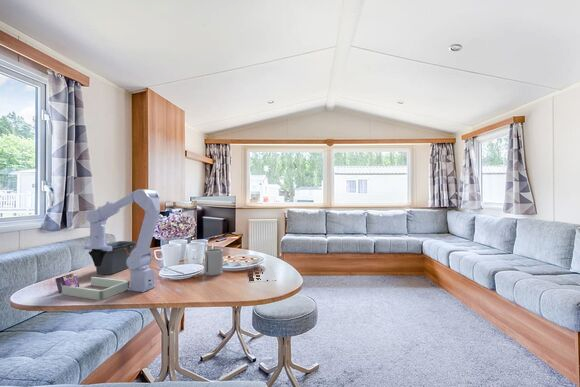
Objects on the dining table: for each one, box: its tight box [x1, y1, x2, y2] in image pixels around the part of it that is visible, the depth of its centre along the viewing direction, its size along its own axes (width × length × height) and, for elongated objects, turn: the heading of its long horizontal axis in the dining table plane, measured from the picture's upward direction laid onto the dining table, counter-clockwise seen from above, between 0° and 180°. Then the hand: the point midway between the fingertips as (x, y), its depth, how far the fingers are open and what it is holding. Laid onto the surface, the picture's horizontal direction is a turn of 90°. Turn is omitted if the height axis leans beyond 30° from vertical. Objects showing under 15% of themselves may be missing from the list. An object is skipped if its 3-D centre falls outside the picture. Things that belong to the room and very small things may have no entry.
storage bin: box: [95, 240, 137, 275], centre depth 161 cm, size 21×16×14 cm
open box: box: [61, 276, 130, 301], centre depth 128 cm, size 21×14×4 cm, turn 73°
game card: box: [55, 272, 80, 295], centre depth 130 cm, size 7×5×9 cm
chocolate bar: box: [246, 268, 263, 281], centre depth 157 cm, size 27×14×1 cm, turn 10°
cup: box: [204, 248, 224, 276], centre depth 158 cm, size 9×9×12 cm
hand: (97, 266), depth 135 cm, fingers closed
